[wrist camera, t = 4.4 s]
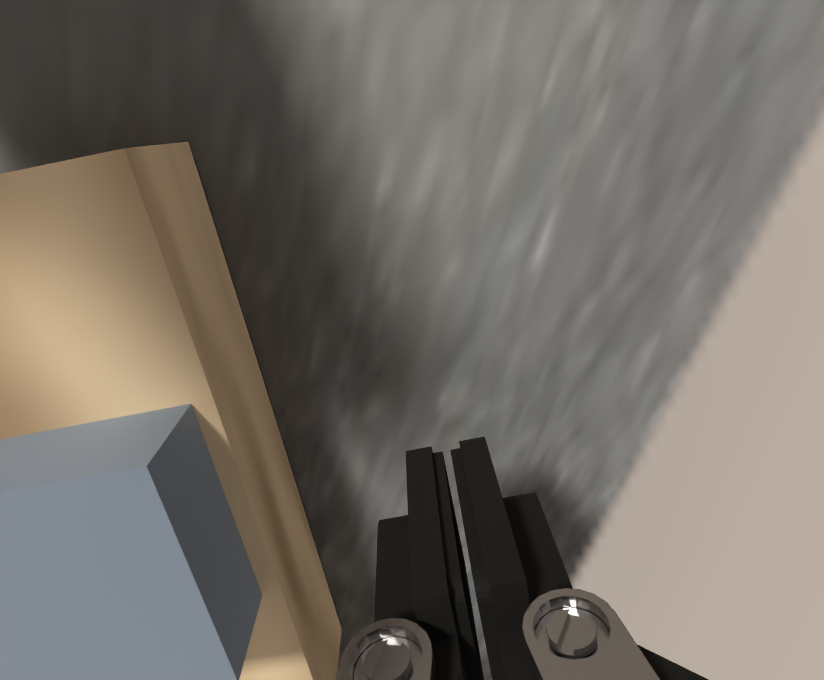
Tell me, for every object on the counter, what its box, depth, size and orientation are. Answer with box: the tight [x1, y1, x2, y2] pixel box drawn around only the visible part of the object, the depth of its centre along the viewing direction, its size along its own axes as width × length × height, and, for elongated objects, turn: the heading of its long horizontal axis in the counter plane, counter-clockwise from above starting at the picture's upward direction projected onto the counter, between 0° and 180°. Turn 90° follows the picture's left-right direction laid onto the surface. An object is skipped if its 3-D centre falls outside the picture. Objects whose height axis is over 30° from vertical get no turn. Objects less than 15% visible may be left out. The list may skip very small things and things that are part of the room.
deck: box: [0, 142, 342, 680], centre depth 15 cm, size 9×16×4 cm, turn 11°
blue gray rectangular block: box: [0, 404, 262, 680], centre depth 12 cm, size 8×6×2 cm
